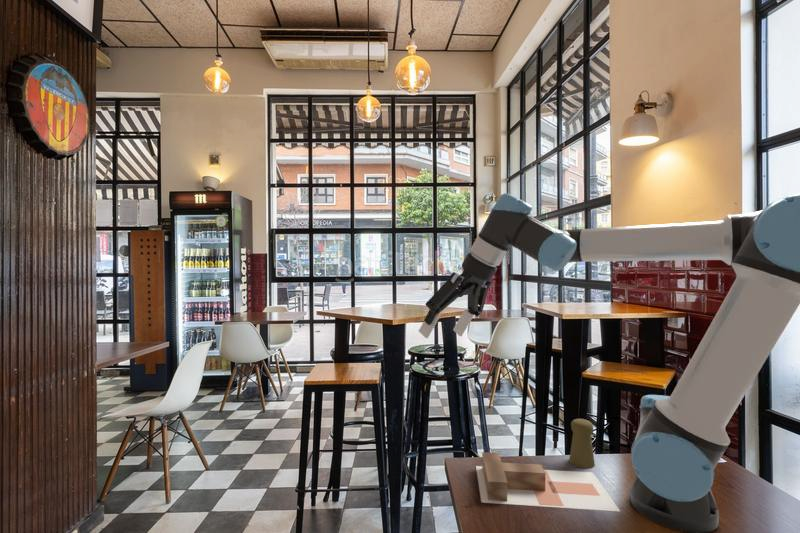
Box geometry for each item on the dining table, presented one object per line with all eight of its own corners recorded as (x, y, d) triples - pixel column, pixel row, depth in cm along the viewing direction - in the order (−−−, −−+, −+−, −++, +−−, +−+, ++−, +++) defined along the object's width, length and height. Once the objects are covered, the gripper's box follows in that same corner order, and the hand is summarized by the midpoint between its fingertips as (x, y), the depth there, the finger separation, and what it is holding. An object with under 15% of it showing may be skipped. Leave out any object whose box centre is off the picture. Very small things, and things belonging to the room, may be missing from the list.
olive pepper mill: (597, 470, 102) (598, 425, 102) (571, 467, 103) (571, 423, 103) (591, 459, 108) (591, 417, 108) (567, 456, 109) (567, 415, 109)
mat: (592, 473, 101) (592, 472, 101) (620, 512, 85) (620, 511, 85) (475, 466, 104) (475, 465, 104) (481, 503, 88) (481, 502, 88)
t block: (536, 471, 101) (536, 454, 101) (550, 504, 87) (551, 485, 87) (482, 468, 103) (482, 452, 103) (488, 500, 89) (488, 481, 89)
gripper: (499, 256, 106) (460, 324, 113) (439, 244, 88) (396, 325, 95) (521, 272, 102) (479, 341, 108) (463, 262, 84) (417, 345, 90)
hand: (440, 333), depth 101 cm, fingers open, 13 cm apart
